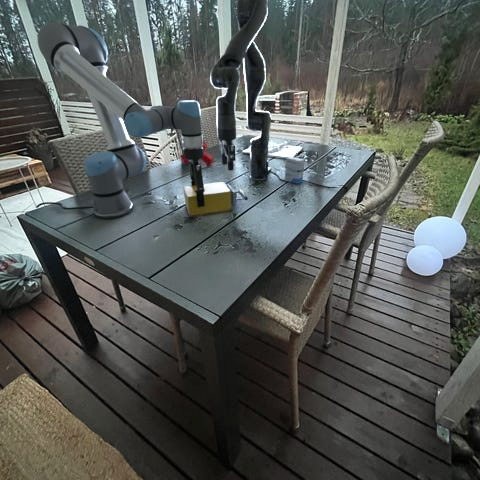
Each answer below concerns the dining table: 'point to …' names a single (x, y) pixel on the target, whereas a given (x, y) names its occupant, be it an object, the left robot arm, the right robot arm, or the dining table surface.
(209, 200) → the yellow rectangular box
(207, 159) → the toy gun
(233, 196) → the drawer
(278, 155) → the relief map
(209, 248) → the dining table surface
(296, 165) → the ink box
